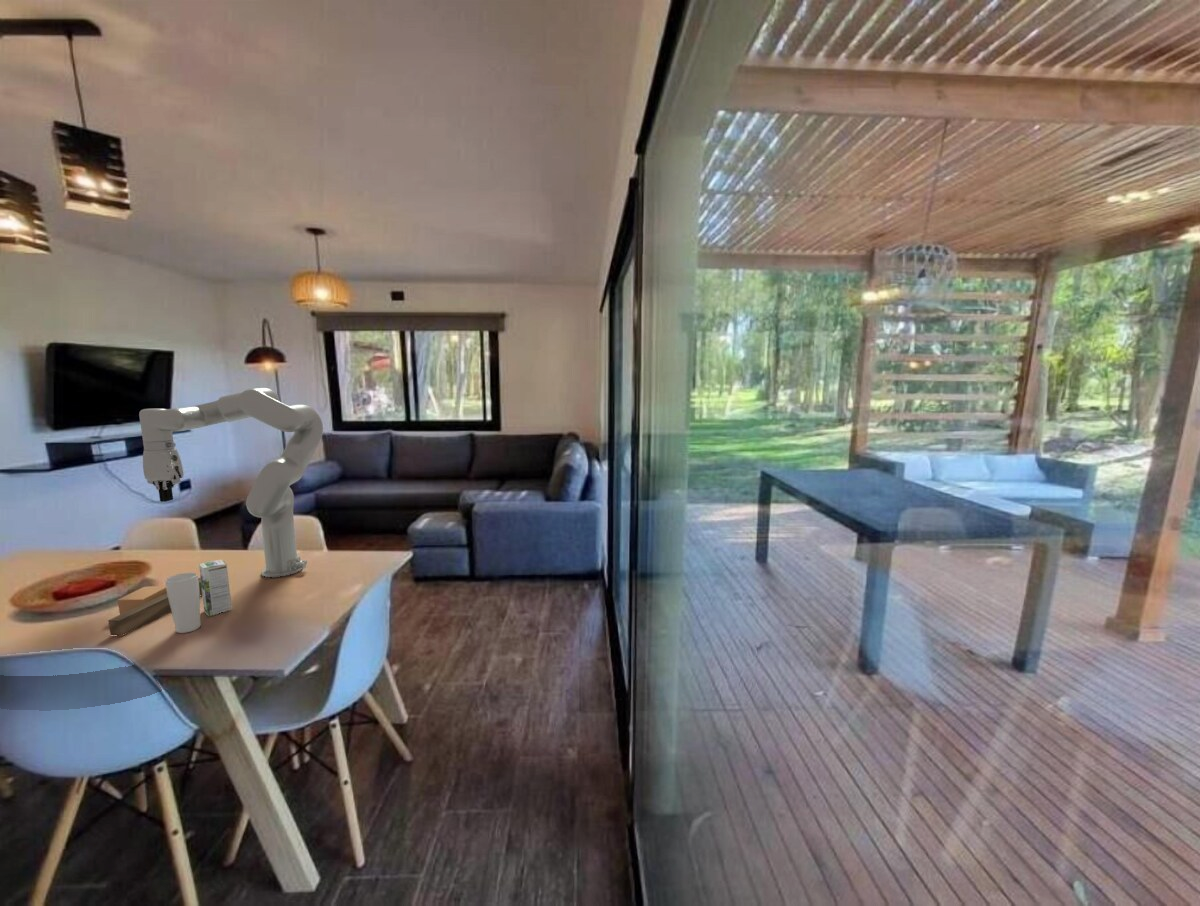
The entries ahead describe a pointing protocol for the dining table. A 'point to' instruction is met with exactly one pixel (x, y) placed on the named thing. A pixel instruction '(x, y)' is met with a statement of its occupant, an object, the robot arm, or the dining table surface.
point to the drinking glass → (184, 601)
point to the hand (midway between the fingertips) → (166, 500)
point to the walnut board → (141, 615)
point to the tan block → (140, 597)
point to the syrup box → (215, 587)
